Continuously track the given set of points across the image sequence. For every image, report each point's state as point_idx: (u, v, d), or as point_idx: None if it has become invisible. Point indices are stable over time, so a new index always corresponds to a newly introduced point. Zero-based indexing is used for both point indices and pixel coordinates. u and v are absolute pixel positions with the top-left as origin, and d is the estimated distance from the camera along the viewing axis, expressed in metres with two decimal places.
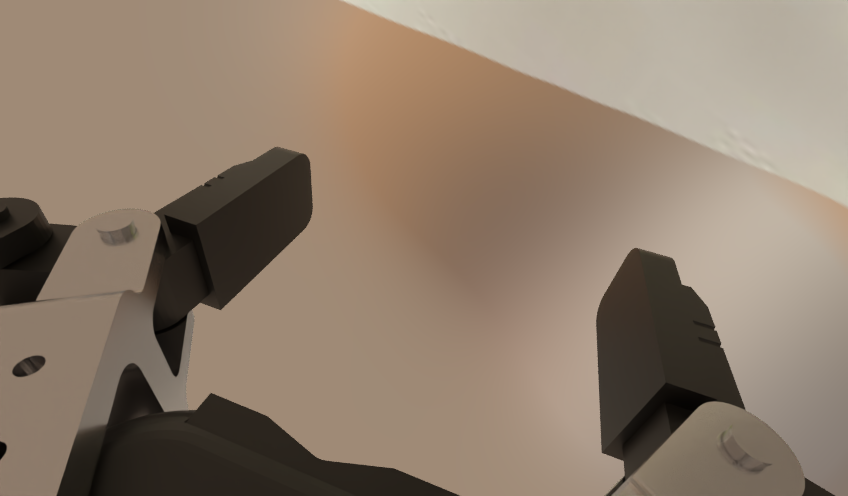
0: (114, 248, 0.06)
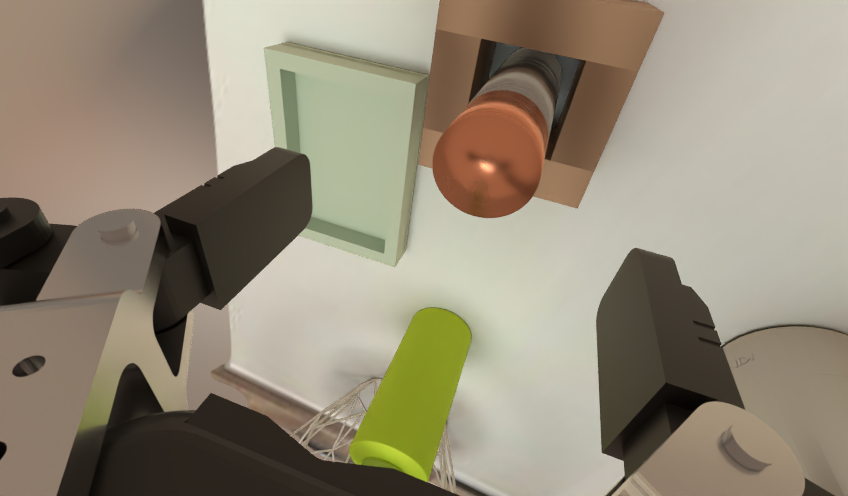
0: (114, 248, 0.06)
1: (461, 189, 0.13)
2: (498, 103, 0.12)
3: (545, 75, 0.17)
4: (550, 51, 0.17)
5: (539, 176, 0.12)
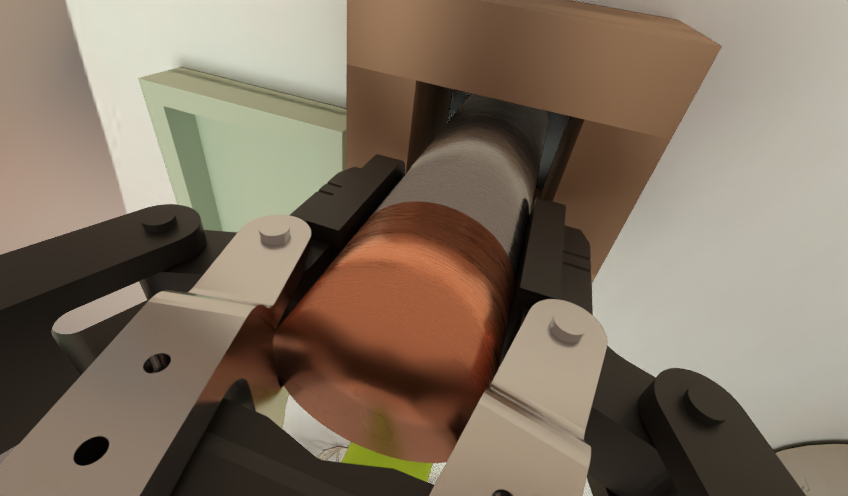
0: (281, 253, 0.06)
1: (337, 413, 0.07)
2: (400, 255, 0.06)
3: (518, 140, 0.11)
4: (525, 103, 0.10)
5: None
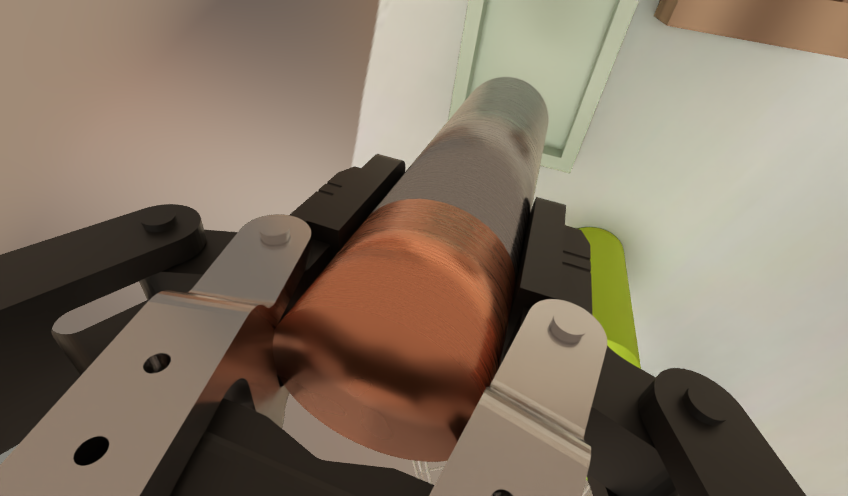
0: (281, 253, 0.06)
1: (336, 411, 0.07)
2: (401, 252, 0.06)
3: (518, 138, 0.11)
4: None
5: None
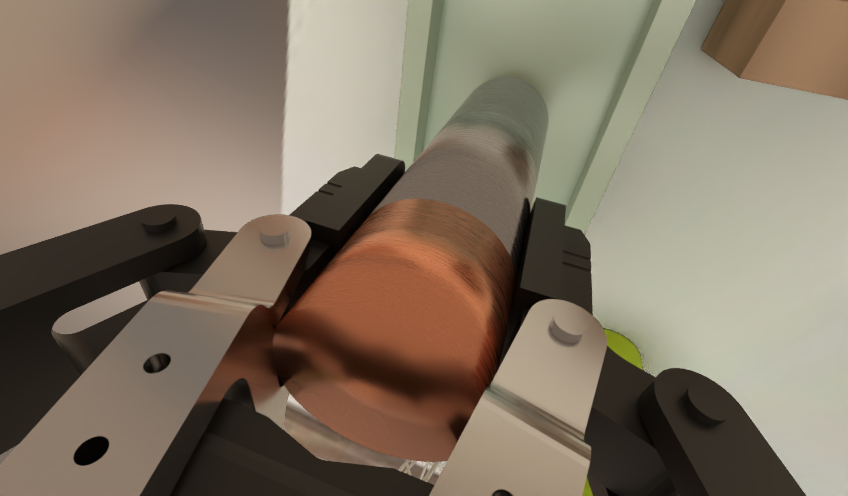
0: (281, 253, 0.06)
1: (337, 411, 0.07)
2: (400, 252, 0.06)
3: (518, 138, 0.11)
4: None
5: None
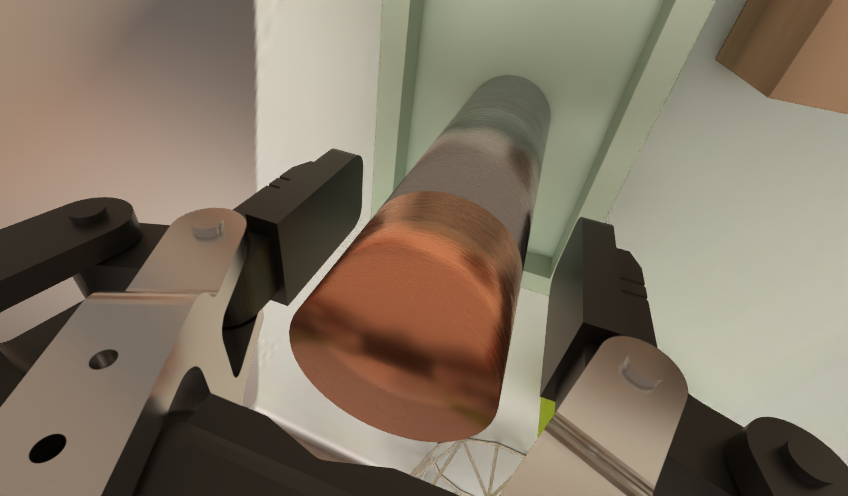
0: (210, 245, 0.06)
1: (352, 394, 0.07)
2: (415, 240, 0.06)
3: (523, 134, 0.11)
4: None
5: (496, 405, 0.06)
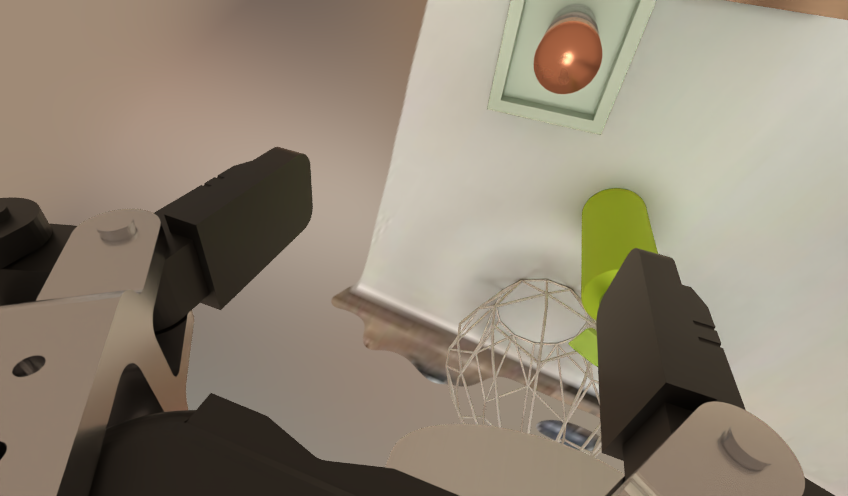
0: (114, 248, 0.06)
1: (550, 75, 0.22)
2: (574, 20, 0.21)
3: (591, 16, 0.26)
4: None
5: (600, 61, 0.21)
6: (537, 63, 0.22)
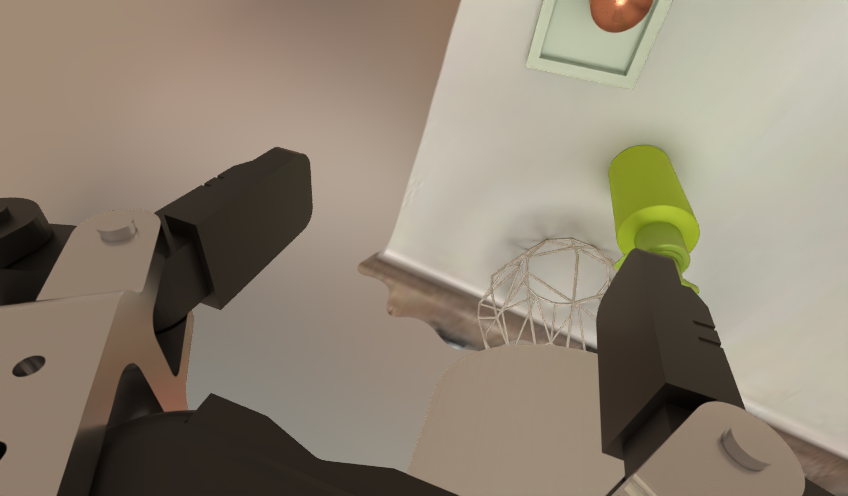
0: (114, 248, 0.06)
1: (605, 15, 0.24)
2: None
3: None
4: None
5: None
6: (594, 3, 0.24)
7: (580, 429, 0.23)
